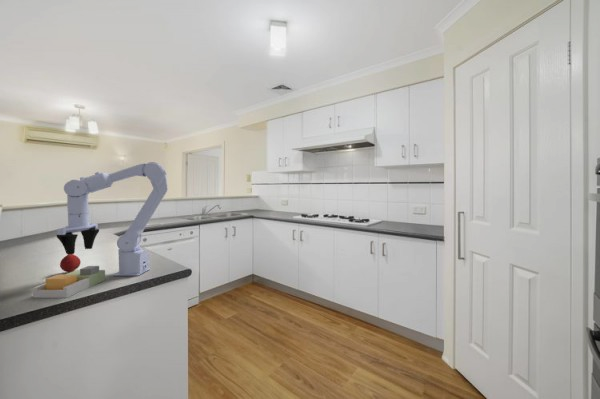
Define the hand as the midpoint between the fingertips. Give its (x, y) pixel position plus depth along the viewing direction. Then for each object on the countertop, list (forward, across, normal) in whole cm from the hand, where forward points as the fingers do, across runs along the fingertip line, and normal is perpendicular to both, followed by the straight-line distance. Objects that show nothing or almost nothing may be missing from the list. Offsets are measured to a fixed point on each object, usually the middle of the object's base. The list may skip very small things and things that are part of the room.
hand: (79, 251), depth 91 cm
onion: (+10, -6, -9) cm, 15 cm away
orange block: (+10, +12, +5) cm, 17 cm away
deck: (+10, +9, +5) cm, 14 cm away
